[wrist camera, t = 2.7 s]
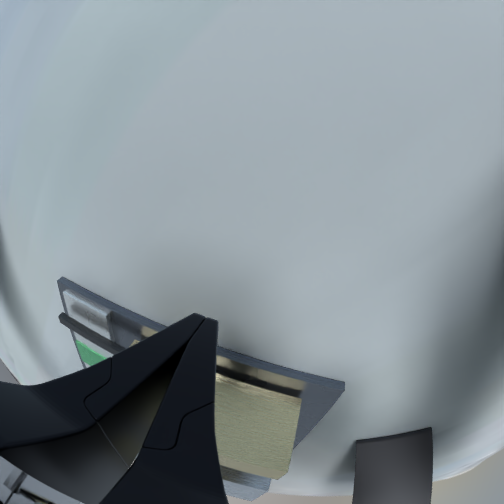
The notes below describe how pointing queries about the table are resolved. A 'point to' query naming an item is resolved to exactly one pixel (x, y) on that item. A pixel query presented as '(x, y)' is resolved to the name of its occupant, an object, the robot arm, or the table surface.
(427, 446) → the phone stand
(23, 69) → the table surface
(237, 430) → the plate
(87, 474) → the robot arm
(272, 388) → the frame
